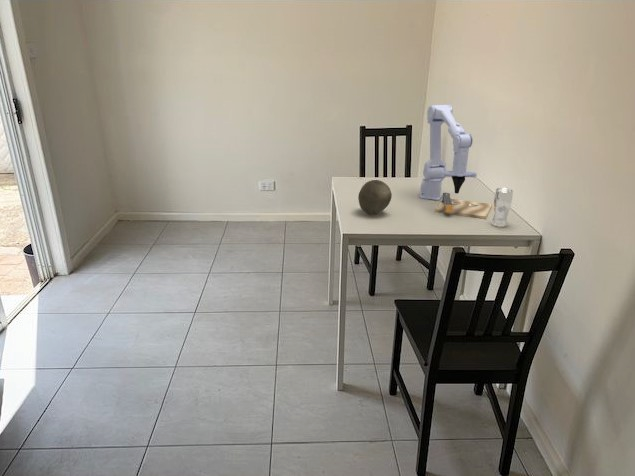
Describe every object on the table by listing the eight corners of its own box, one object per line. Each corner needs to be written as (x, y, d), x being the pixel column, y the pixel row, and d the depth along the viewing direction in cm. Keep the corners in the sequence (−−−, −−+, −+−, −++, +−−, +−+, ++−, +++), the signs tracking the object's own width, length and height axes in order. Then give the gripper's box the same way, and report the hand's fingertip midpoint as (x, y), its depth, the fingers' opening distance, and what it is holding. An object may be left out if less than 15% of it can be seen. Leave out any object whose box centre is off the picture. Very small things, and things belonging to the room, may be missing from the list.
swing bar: (442, 198, 222) (442, 192, 221) (448, 199, 222) (449, 192, 220) (444, 212, 205) (445, 205, 204) (452, 212, 205) (453, 205, 204)
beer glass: (495, 220, 202) (500, 186, 196) (510, 224, 197) (516, 190, 192) (487, 224, 198) (492, 190, 192) (503, 228, 193) (508, 193, 187)
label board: (434, 211, 212) (435, 207, 212) (443, 200, 227) (444, 196, 226) (485, 219, 203) (486, 215, 203) (491, 206, 218) (492, 203, 217)
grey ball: (364, 220, 203) (366, 186, 197) (353, 209, 215) (354, 177, 209) (395, 217, 206) (397, 184, 200) (382, 206, 219) (384, 175, 213)
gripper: (444, 164, 199) (440, 195, 204) (479, 165, 197) (475, 196, 203) (441, 160, 205) (438, 190, 211) (476, 161, 204) (472, 191, 209)
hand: (456, 192), depth 207 cm, fingers closed
